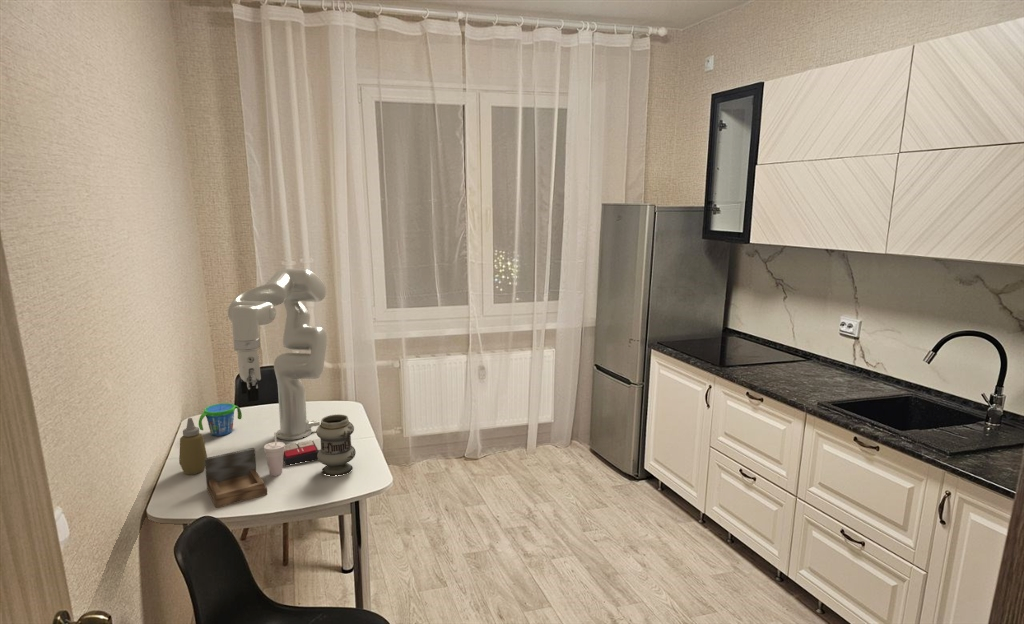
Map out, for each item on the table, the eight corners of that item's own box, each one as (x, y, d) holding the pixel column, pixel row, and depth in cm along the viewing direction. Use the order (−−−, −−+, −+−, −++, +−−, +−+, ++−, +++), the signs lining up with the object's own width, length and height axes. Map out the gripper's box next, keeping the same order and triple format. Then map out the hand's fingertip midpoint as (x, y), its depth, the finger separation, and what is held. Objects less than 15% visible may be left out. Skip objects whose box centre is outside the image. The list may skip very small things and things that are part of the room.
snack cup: (205, 442, 213) (203, 415, 211) (194, 434, 220) (192, 409, 218) (248, 431, 224) (246, 405, 222) (236, 424, 231) (235, 399, 229)
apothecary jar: (317, 465, 195) (314, 414, 192) (354, 460, 199) (352, 410, 196) (319, 480, 184) (316, 426, 181) (358, 475, 188) (356, 422, 185)
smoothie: (279, 478, 185) (276, 437, 182) (261, 476, 186) (258, 435, 184) (290, 470, 191) (288, 429, 189) (273, 468, 192) (270, 428, 190)
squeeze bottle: (187, 466, 193) (182, 414, 190) (212, 465, 194) (208, 414, 191) (175, 477, 185) (170, 423, 182) (201, 476, 186) (197, 422, 183)
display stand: (255, 477, 186) (253, 447, 184) (267, 494, 175) (265, 462, 173) (206, 489, 177) (204, 458, 176) (216, 507, 166) (213, 475, 165)
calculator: (280, 445, 203) (324, 435, 210) (281, 456, 204) (325, 447, 211) (284, 456, 193) (330, 446, 201) (286, 468, 194) (331, 458, 201)
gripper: (265, 348, 177) (268, 402, 180) (253, 338, 191) (256, 388, 194) (238, 351, 173) (242, 406, 176) (229, 340, 187) (232, 391, 190)
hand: (250, 396), depth 185 cm, fingers open, 9 cm apart
